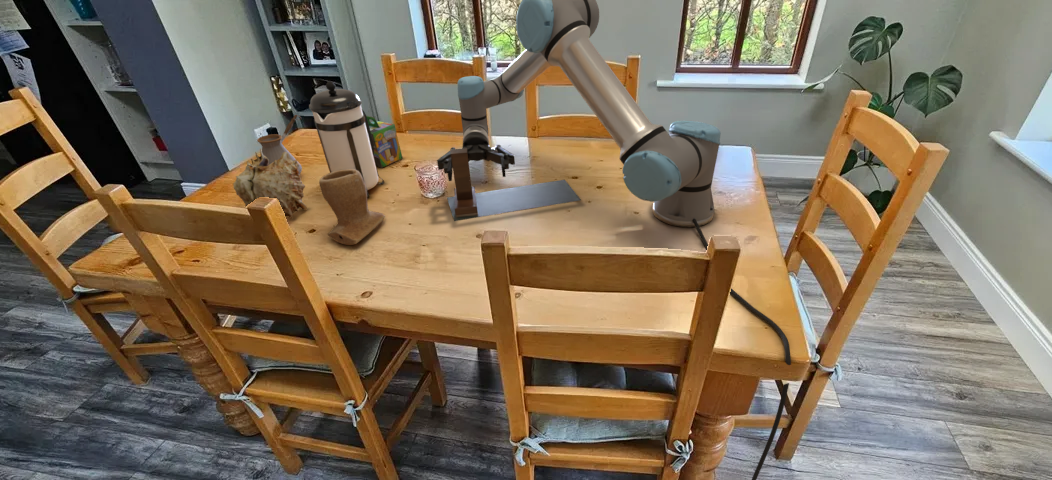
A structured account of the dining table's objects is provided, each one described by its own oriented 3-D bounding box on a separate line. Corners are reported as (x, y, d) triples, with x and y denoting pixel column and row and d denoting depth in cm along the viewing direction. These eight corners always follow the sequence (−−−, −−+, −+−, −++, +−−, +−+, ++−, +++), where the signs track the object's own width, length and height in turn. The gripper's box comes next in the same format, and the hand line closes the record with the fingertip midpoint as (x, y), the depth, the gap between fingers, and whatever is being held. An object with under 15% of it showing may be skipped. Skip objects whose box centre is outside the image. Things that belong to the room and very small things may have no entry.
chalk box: (403, 158, 159) (393, 113, 151) (381, 168, 153) (370, 121, 144) (383, 153, 163) (373, 109, 155) (362, 163, 157) (350, 117, 148)
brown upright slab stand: (477, 215, 124) (471, 159, 115) (456, 217, 123) (447, 161, 114) (475, 194, 133) (469, 141, 125) (455, 196, 133) (447, 143, 124)
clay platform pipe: (352, 214, 129) (336, 160, 120) (392, 219, 126) (379, 164, 117) (315, 243, 117) (295, 186, 108) (358, 250, 114) (341, 191, 105)
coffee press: (395, 192, 139) (370, 82, 121) (337, 206, 132) (302, 92, 115) (379, 171, 151) (355, 69, 134) (325, 183, 145) (292, 78, 127)
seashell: (297, 136, 125) (249, 142, 128) (253, 166, 111) (200, 173, 114) (328, 197, 135) (283, 201, 139) (292, 232, 121) (243, 236, 125)
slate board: (581, 205, 130) (581, 200, 129) (454, 226, 122) (454, 221, 121) (564, 184, 141) (564, 179, 140) (447, 202, 133) (446, 197, 132)
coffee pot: (291, 188, 143) (272, 138, 134) (255, 186, 144) (235, 137, 135) (328, 160, 160) (314, 114, 151) (296, 158, 161) (280, 113, 152)
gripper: (520, 153, 143) (526, 184, 126) (434, 159, 140) (428, 191, 123) (518, 128, 138) (525, 156, 121) (429, 134, 136) (423, 163, 119)
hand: (476, 174), depth 122 cm, fingers open, 13 cm apart
